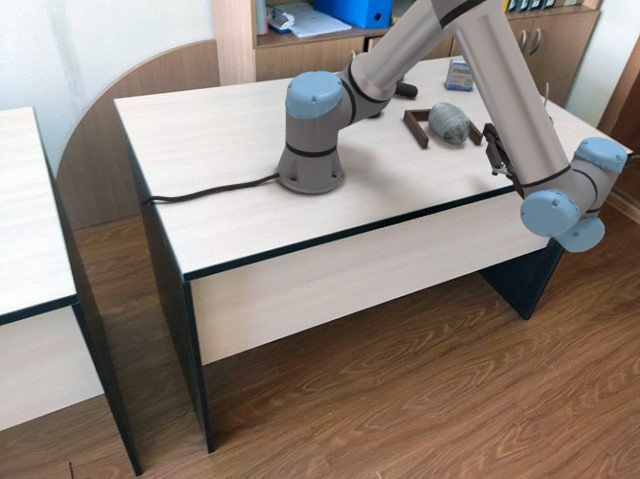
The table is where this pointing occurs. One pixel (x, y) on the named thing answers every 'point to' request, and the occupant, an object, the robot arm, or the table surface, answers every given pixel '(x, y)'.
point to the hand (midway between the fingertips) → (486, 128)
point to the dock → (423, 115)
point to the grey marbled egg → (449, 123)
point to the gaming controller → (406, 89)
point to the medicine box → (459, 76)
